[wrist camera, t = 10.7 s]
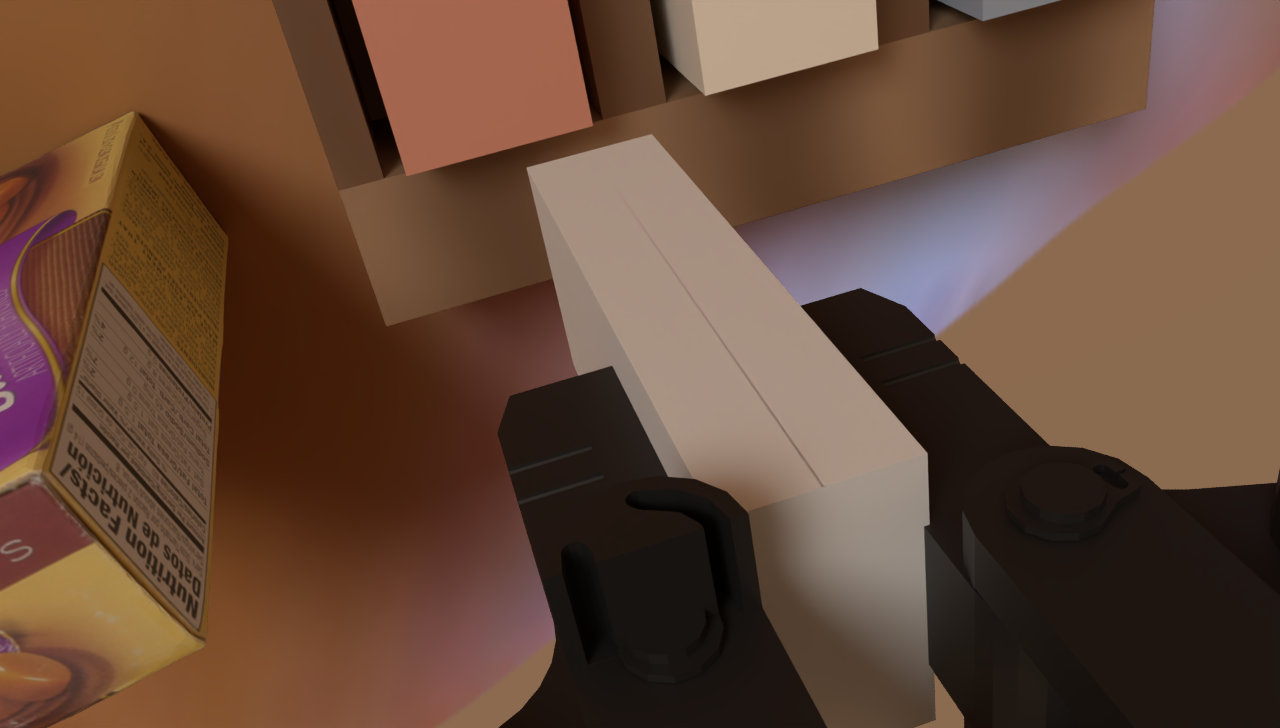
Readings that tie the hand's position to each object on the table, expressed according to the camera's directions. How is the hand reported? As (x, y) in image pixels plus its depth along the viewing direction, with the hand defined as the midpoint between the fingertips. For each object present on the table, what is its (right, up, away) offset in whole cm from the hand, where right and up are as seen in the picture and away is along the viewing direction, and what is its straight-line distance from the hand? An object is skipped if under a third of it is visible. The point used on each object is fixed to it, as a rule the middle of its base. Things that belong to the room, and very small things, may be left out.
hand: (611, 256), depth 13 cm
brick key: (-4, +7, +12) cm, 14 cm away
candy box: (-15, +2, +15) cm, 21 cm away
